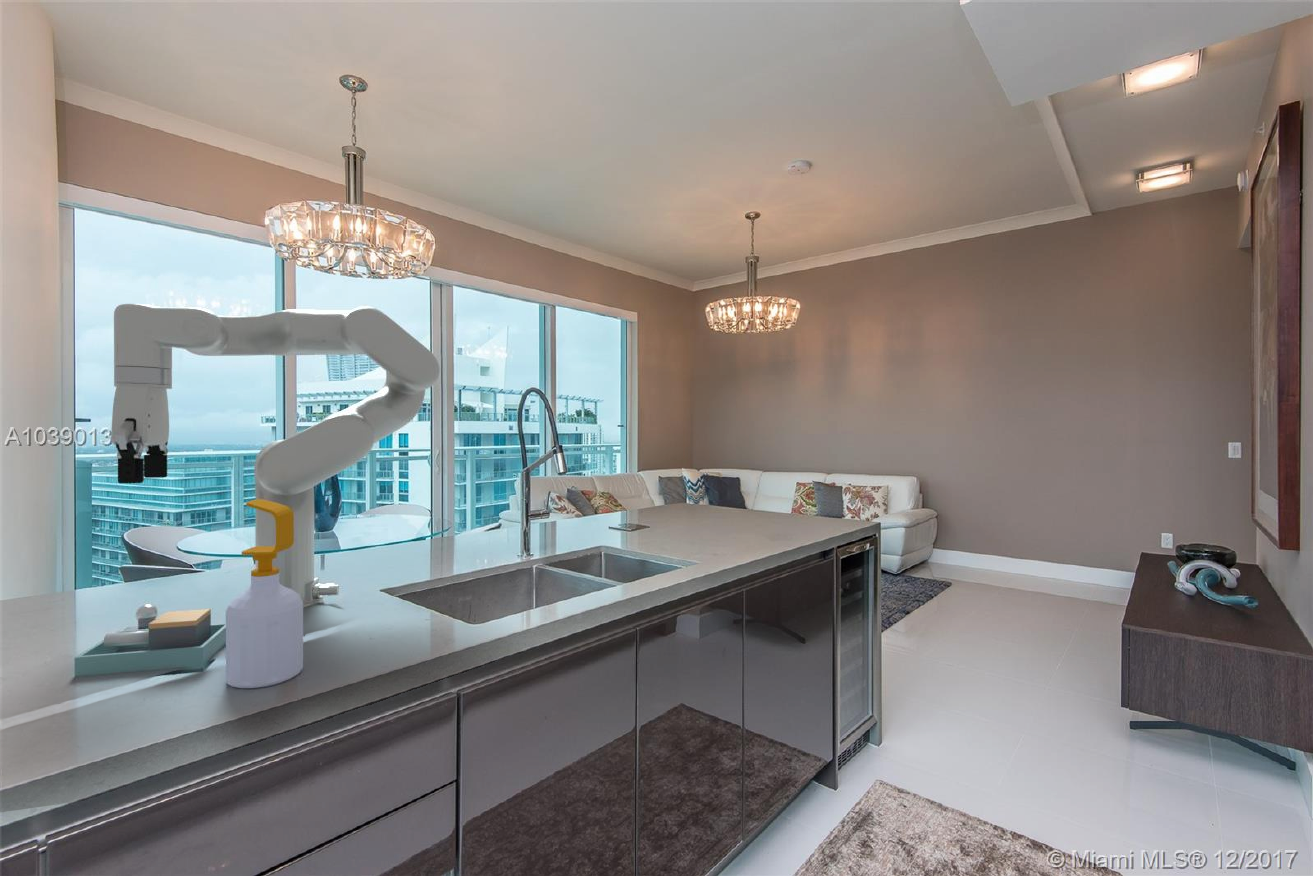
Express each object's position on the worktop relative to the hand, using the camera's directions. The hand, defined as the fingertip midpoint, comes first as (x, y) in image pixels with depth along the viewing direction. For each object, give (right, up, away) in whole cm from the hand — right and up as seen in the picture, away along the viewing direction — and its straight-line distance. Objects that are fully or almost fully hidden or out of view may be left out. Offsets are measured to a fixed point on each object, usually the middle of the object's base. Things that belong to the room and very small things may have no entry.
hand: (143, 480), depth 104 cm
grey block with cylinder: (+14, -25, -15) cm, 33 cm away
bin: (+15, -26, -15) cm, 33 cm away
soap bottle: (+33, -26, -18) cm, 46 cm away
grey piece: (+6, -25, -6) cm, 26 cm away
